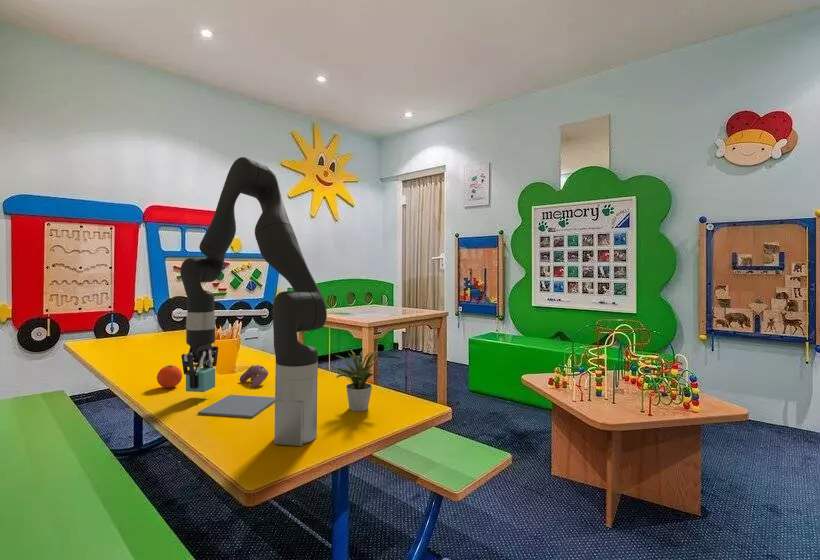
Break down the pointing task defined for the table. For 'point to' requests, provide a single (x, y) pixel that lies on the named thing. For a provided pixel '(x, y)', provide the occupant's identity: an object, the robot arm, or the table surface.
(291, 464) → the table surface
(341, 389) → the table surface
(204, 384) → the teal cube
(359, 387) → the house plant
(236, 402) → the slate mat
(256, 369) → the video game controller
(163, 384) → the tomato
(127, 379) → the table surface
